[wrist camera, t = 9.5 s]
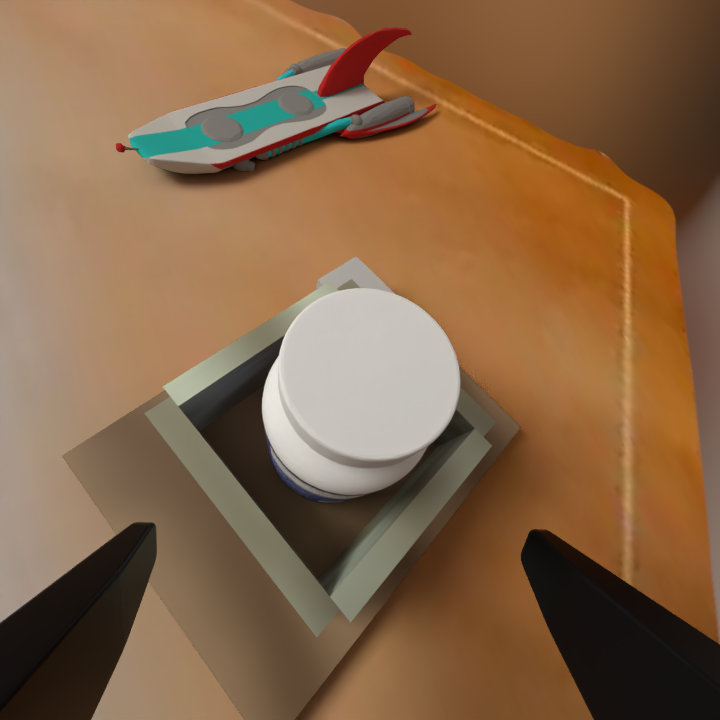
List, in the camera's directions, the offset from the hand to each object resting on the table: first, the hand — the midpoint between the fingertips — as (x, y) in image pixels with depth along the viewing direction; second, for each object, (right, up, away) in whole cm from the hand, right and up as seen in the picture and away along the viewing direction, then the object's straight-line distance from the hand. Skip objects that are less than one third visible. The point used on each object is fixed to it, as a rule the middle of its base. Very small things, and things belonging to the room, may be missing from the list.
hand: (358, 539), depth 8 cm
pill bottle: (-2, 0, +9) cm, 10 cm away
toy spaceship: (-6, +24, +21) cm, 33 cm away
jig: (-2, 0, +10) cm, 10 cm away
